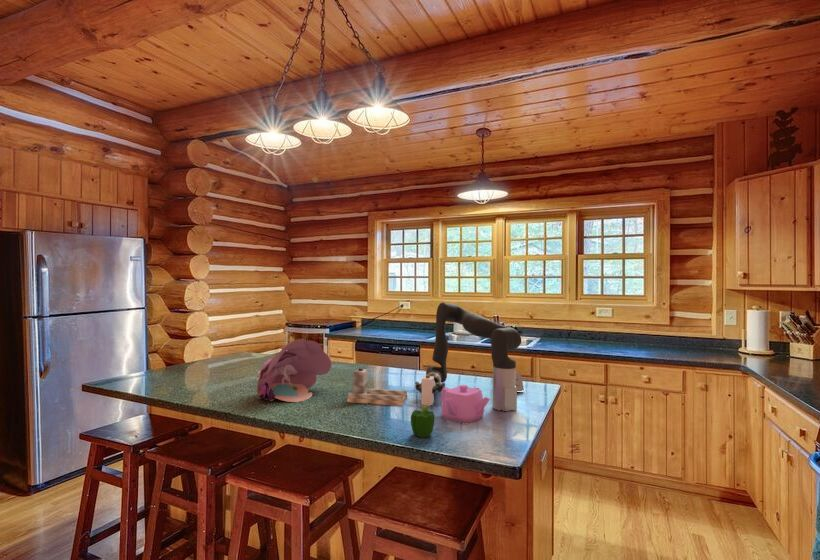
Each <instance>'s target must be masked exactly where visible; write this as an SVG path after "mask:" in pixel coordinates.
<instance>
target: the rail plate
mask: <svg viewBox="0 0 820 560" xmlns="http://www.w3.org/2000/svg"><path fill="white" fill-rule="evenodd" d="M368 372H369V370H368V369H364V368H363V367H359V368H357V369H356V370H354V371H353V392H348V394H347V395H348V396H347V397H348V398H347V399H346V402H347V403H358V404H368V403H370V404H369V405H371V404H373V405H386V406H400V407H403V405H404V403H406V401H407V399H408V390H398V389H397V390H396V389H381V388H368Z"/></svg>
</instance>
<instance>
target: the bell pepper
mask: <svg viewBox="0 0 820 560" xmlns="http://www.w3.org/2000/svg"><path fill="white" fill-rule="evenodd" d="M430 407H431V406H430V405H423V406H422V410H421V411H420V410H418V409H414V410H413V411H412V412H411V414H410V425H411V430H412V433H413V435H414V436H416V437H420V438H428V437H430V436H431V435H432V433H433V430H434V425H435V413H434V411H433V410H432V411H430V410H428V409H429V408H430Z"/></svg>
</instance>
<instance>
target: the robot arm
mask: <svg viewBox="0 0 820 560" xmlns="http://www.w3.org/2000/svg"><path fill="white" fill-rule="evenodd" d="M446 322H448V323H456V324H460V325H461V326H462V327H463V329H464V331H466V332H468V333H469V334H472V335H473V336H476V337H480V338H484V339H489V340H490V350H491V356H490V357H491V360H492V409H494V408H495V410H496V409H497V411H500V410H503V411H502V412H504V411H507V412H511V411H510V410H514V411H517V410H518V405H517V404H518V393H517V387H516V373H517V369H516V368H517V362H516V360H515V359H514V358H511V357H509V355H508V351H513V350H516V349H518V348H519V347H520V346H521V344H522V336H521V334H520V333H519V331H518V330H517V329H515V328H513V327H509V326H505V325H502V324H499V323H497V322H495V321H492V320H490V319H488V318H486V317H484V316H482V315H480V314H477V313H475V312H471V311H467V310H466V309H464V308H463V307H462V306H460V305H458V304H457V303H450V302H441V303H439V304H438V307H437V309H436V316H435V342H434V348H433V353H432V357H431V358H432V361H433V362H435V364H436V363H437V364H439V365H440V367H439V366H435V365H429V366H428V367H427V369H426V371H425V376H426V375H430V376H434V386H433V388H432V394H434V395H435V393H437V392H439V393H442V389H443V388H446V383H445V382H446V380H447V379H448V371H447V370H448V369H447V357H448V354H449V353H448V352H449V342H448V338H447V334H446V330H445V329H446ZM414 384H415V385H414V386H415V390H416V391H418V392H419V393H420V394H422V381H421V382H419V381H415V382H414Z"/></svg>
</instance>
